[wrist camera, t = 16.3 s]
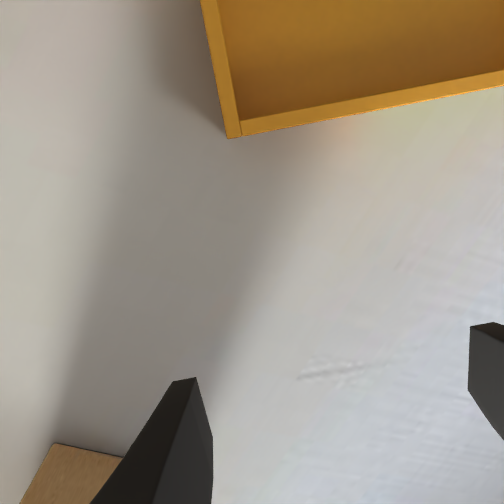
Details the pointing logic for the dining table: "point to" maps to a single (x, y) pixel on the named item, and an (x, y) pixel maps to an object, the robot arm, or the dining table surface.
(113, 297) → the dining table surface
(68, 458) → the sandwich container
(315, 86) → the tray
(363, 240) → the dining table surface
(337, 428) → the dining table surface
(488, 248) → the dining table surface
